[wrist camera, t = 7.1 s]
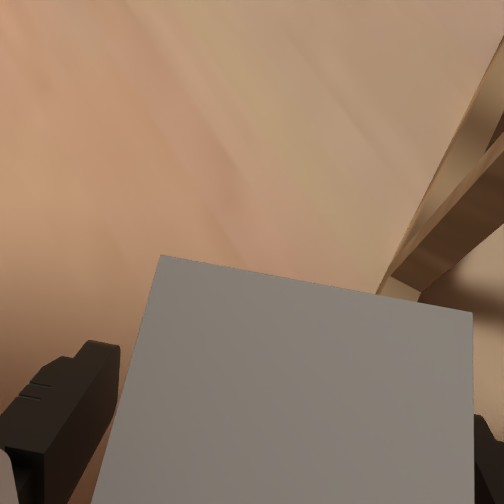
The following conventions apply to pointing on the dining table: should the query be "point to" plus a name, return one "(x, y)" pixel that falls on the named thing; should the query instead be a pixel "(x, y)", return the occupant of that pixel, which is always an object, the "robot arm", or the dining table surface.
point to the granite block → (290, 396)
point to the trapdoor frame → (456, 196)
